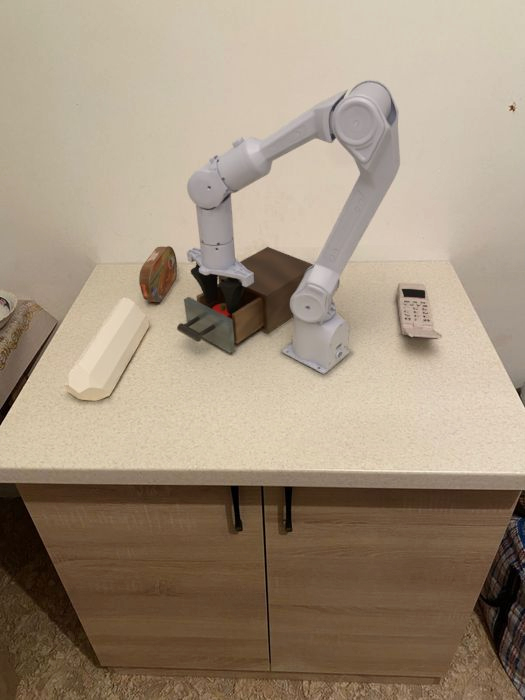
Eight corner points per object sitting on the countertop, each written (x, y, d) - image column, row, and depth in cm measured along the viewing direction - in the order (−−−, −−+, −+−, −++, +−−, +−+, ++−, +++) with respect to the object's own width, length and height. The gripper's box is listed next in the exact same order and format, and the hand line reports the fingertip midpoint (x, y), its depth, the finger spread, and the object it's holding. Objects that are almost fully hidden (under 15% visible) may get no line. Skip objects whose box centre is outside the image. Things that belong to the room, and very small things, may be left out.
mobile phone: (407, 335, 85) (398, 262, 104) (401, 362, 89) (394, 287, 108) (444, 338, 84) (428, 264, 103) (436, 365, 88) (423, 289, 107)
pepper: (239, 325, 95) (239, 303, 92) (224, 335, 93) (222, 313, 89) (224, 316, 97) (222, 295, 94) (208, 326, 95) (206, 304, 92)
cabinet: (267, 334, 96) (266, 296, 90) (221, 310, 102) (217, 273, 97) (314, 302, 104) (315, 265, 99) (268, 282, 111) (267, 246, 106)
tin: (155, 310, 103) (149, 274, 98) (141, 308, 104) (134, 272, 99) (179, 273, 115) (175, 239, 110) (166, 272, 115) (161, 238, 110)
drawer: (211, 366, 87) (207, 335, 83) (168, 340, 93) (163, 310, 89) (278, 320, 98) (278, 290, 94) (236, 299, 104) (234, 270, 100)
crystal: (104, 302, 98) (44, 385, 80) (131, 289, 95) (75, 371, 77) (128, 330, 102) (76, 415, 84) (155, 318, 99) (107, 403, 80)
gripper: (169, 234, 85) (179, 301, 94) (230, 260, 78) (235, 331, 86) (200, 220, 89) (207, 286, 98) (261, 243, 82) (263, 313, 90)
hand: (222, 306), depth 92 cm, fingers open, 5 cm apart
